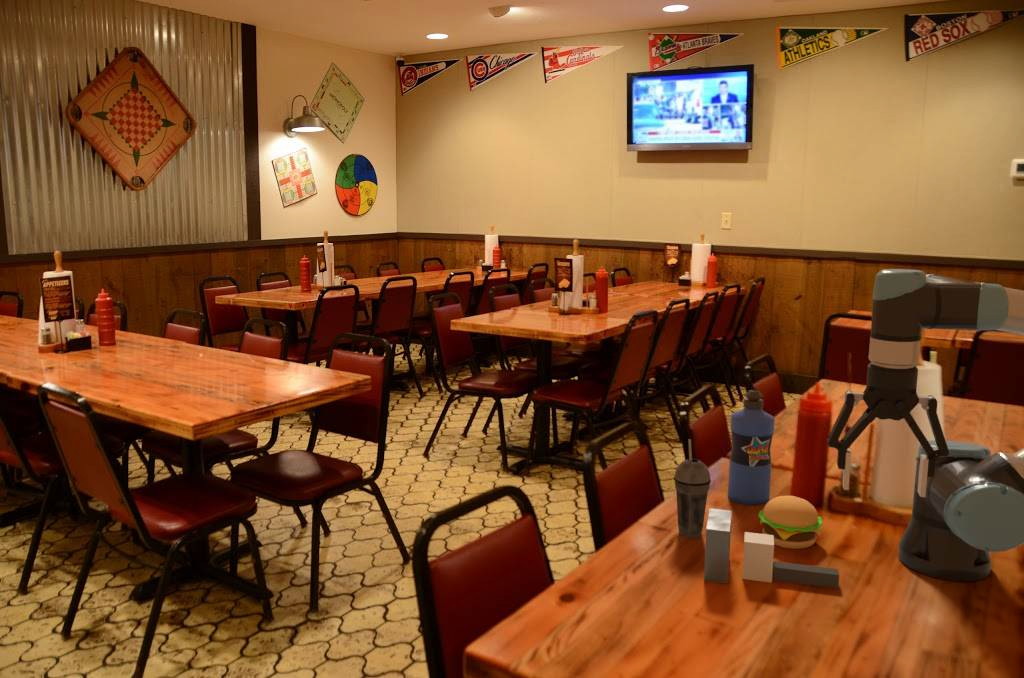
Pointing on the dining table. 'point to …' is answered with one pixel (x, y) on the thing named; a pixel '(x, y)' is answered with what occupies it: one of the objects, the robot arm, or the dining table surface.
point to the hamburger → (791, 522)
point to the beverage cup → (691, 495)
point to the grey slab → (717, 545)
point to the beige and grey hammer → (781, 565)
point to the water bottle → (750, 452)
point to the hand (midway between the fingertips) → (882, 490)
